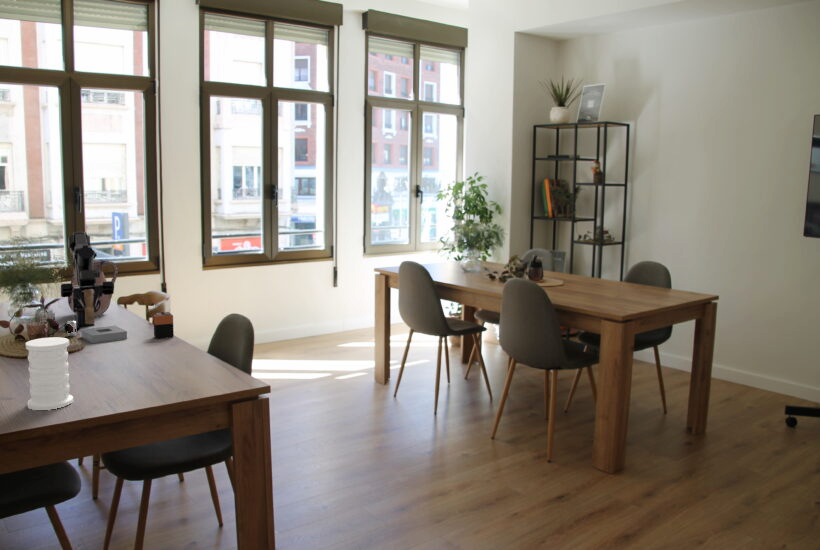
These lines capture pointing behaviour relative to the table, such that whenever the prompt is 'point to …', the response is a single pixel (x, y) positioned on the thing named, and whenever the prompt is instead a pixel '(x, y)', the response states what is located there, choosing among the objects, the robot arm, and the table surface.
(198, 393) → the table surface
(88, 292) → the walnut pin
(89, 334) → the hole plate
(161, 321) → the battery
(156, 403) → the table surface
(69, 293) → the robot arm
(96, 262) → the ceramic pitcher
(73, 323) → the steel pin
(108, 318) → the table surface
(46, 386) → the decorative container
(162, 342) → the table surface
